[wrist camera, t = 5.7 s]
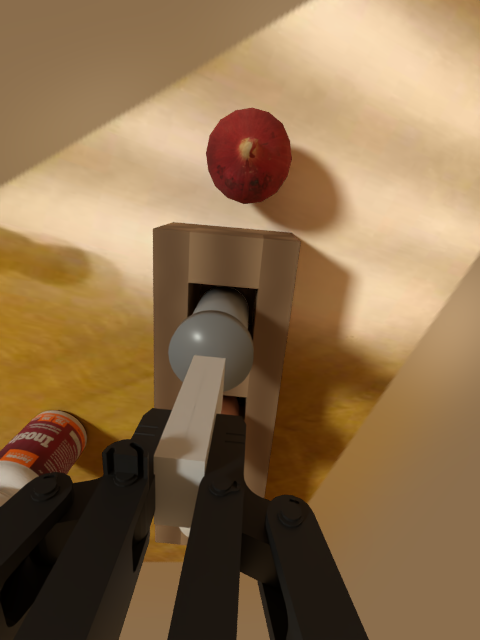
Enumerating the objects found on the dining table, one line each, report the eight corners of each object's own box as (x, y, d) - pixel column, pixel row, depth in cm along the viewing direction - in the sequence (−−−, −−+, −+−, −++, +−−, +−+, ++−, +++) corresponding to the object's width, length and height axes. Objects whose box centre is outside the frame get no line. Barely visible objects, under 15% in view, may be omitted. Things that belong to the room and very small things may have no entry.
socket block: (169, 491, 39) (155, 541, 33) (173, 222, 28) (153, 228, 23) (256, 500, 39) (256, 552, 33) (291, 232, 28) (300, 241, 23)
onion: (288, 197, 27) (301, 198, 20) (218, 206, 28) (205, 210, 20) (283, 116, 25) (295, 82, 18) (208, 127, 26) (188, 98, 18)
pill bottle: (76, 403, 35) (1, 489, 25) (97, 450, 37) (36, 548, 27) (22, 413, 36) (-73, 501, 25) (46, 458, 38) (-33, 557, 27)
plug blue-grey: (191, 336, 27) (168, 389, 20) (193, 278, 26) (168, 312, 18) (250, 341, 27) (249, 396, 20) (256, 283, 26) (257, 320, 18)
